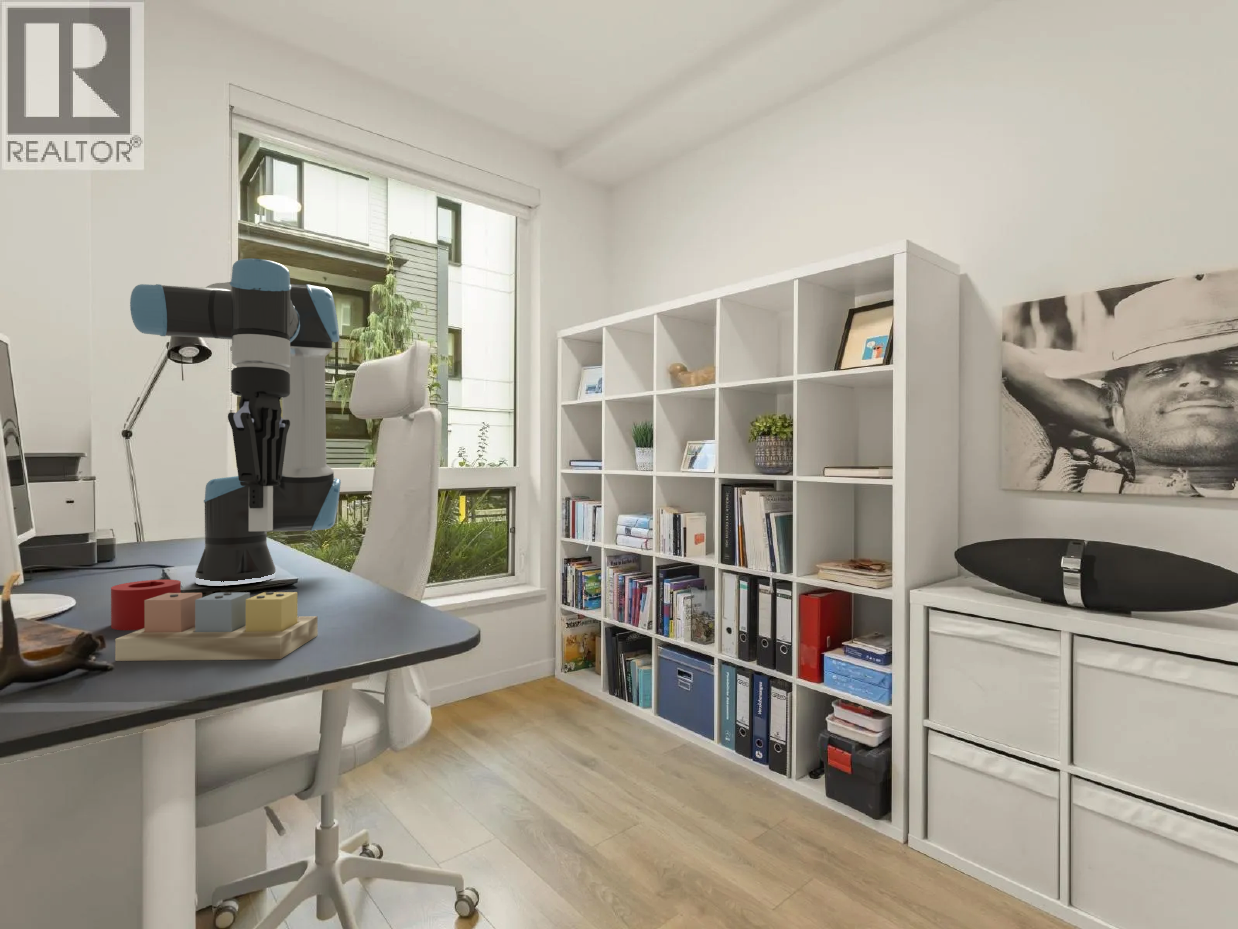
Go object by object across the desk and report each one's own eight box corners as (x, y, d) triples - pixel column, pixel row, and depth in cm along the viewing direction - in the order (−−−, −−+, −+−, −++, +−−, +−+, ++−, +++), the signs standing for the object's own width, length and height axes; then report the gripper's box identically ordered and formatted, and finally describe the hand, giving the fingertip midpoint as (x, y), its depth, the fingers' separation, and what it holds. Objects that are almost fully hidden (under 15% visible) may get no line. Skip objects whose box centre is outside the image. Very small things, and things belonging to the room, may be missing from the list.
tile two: (215, 626, 97) (215, 591, 97) (249, 625, 97) (249, 591, 97) (195, 635, 92) (195, 598, 92) (231, 634, 92) (231, 598, 92)
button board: (172, 636, 100) (172, 617, 100) (317, 635, 101) (317, 616, 101) (115, 660, 88) (115, 638, 88) (280, 659, 89) (280, 637, 89)
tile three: (263, 625, 97) (263, 591, 97) (297, 625, 97) (297, 590, 97) (245, 634, 92) (245, 598, 92) (281, 634, 92) (281, 598, 92)
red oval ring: (169, 629, 105) (169, 588, 105) (100, 633, 102) (100, 591, 102) (203, 605, 122) (203, 570, 122) (145, 608, 119) (144, 573, 119)
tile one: (167, 626, 96) (167, 591, 96) (202, 626, 97) (202, 591, 96) (144, 635, 91) (144, 598, 91) (180, 635, 92) (180, 598, 91)
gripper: (258, 375, 100) (258, 527, 100) (207, 361, 87) (207, 535, 87) (307, 375, 101) (307, 526, 100) (264, 361, 88) (263, 535, 87)
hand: (260, 530), depth 94 cm, fingers closed
